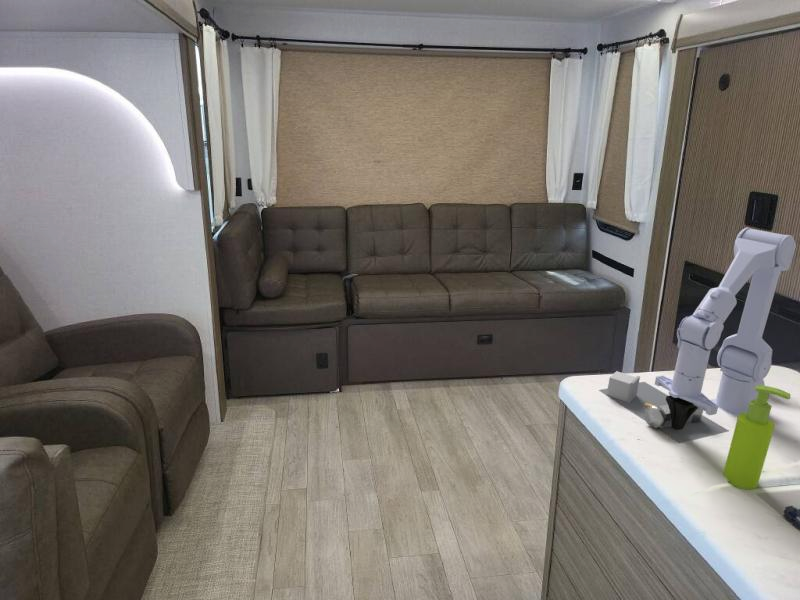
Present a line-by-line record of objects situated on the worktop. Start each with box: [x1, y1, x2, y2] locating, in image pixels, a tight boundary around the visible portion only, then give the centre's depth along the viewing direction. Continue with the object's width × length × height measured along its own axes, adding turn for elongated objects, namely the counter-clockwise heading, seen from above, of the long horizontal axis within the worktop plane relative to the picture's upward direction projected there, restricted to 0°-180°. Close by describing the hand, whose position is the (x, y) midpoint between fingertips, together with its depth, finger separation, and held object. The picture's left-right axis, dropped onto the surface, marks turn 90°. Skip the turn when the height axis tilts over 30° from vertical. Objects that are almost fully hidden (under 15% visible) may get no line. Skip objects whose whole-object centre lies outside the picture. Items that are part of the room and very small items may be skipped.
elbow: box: [644, 405, 704, 429], centre depth 128 cm, size 14×5×5 cm, turn 113°
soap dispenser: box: [723, 385, 791, 491], centre depth 106 cm, size 6×7×20 cm
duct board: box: [598, 370, 730, 444], centre depth 133 cm, size 15×25×6 cm, turn 23°
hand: (677, 428), depth 124 cm, fingers closed
